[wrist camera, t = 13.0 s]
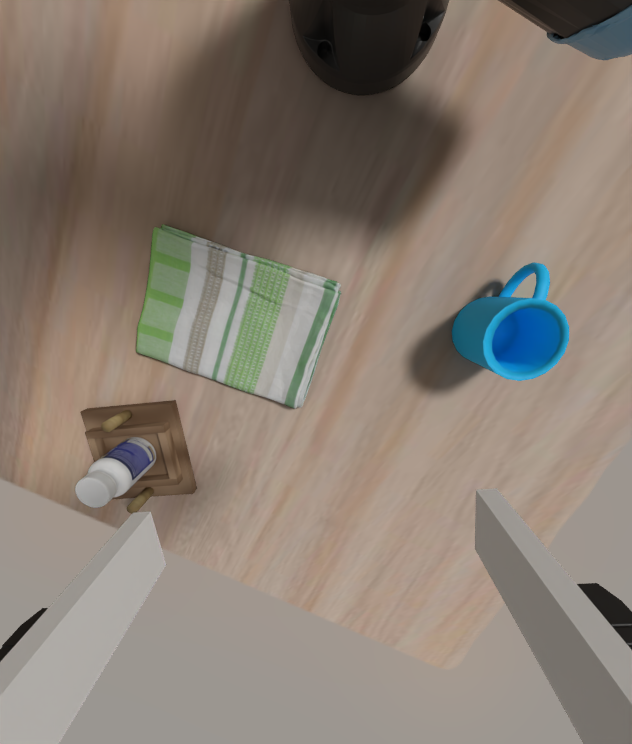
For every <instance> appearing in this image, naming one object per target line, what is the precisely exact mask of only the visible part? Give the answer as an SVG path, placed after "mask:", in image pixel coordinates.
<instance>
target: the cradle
mask: <svg viewBox="0 0 632 744" xmlns="http://www.w3.org/2000/svg"><path fill="white" fill-rule="evenodd" d="M81 415H82V418H83V421H84V424H85V427H86V430H87V432H85V434H86V437H87V440H88V443H89V446H90V450H91V453H92V456H93V459H94V462H96V461H97V460H98V459H100V458H101V457H102V456H104V455H105V454H106V453H108V452H109V451H111V450H112V449H113V448H115V447H116V446H117V445H119V444H120V443H121V442H123V441H124V440H126V439H128V438H131V437H139V438H143V439H145V440H147V441H148V442H149V443H151V444H152V446H153V447H154V449H155V451H156V461H155V463H154V465H153V466H152V467H151V468H150V469H149V470H148V471H147V472H146V473H145V474H144V475H143V476H142V477H141V478H140V479H139V480H138V481H137V482H136V483H135V484H134V485H133V486H132V487H131V488H130V489H129V490H128V491H127V492H126V493H124V494H123V495H121V496H118V497H113V498H112V499H123V498H135V499H134V500H133V501H132V502H131V503H130V504H129V505H128V507H127V511H128V512H129V513H131V514H132V513H135V512H137V511H138V510H139V509H140V508H141V507H142V506H143V504H144V503H145V502H146V501H147V500H148V499H149V498H150V497H151V496H166V495H180V494H193V493H194V492H195V490H196V489H197V487H196V483H195V479H194V475H193V470H192V466H191V462H190V458H189V454H188V450H187V446H186V441H185V437H184V433H183V429H182V425H181V421H180V417H179V412H178V408H177V404H176V400H174V401H163V402H152V403H142V404H131V405H120V406H110V407H99V408H89V409H85V410H83V411H81Z"/></svg>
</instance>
